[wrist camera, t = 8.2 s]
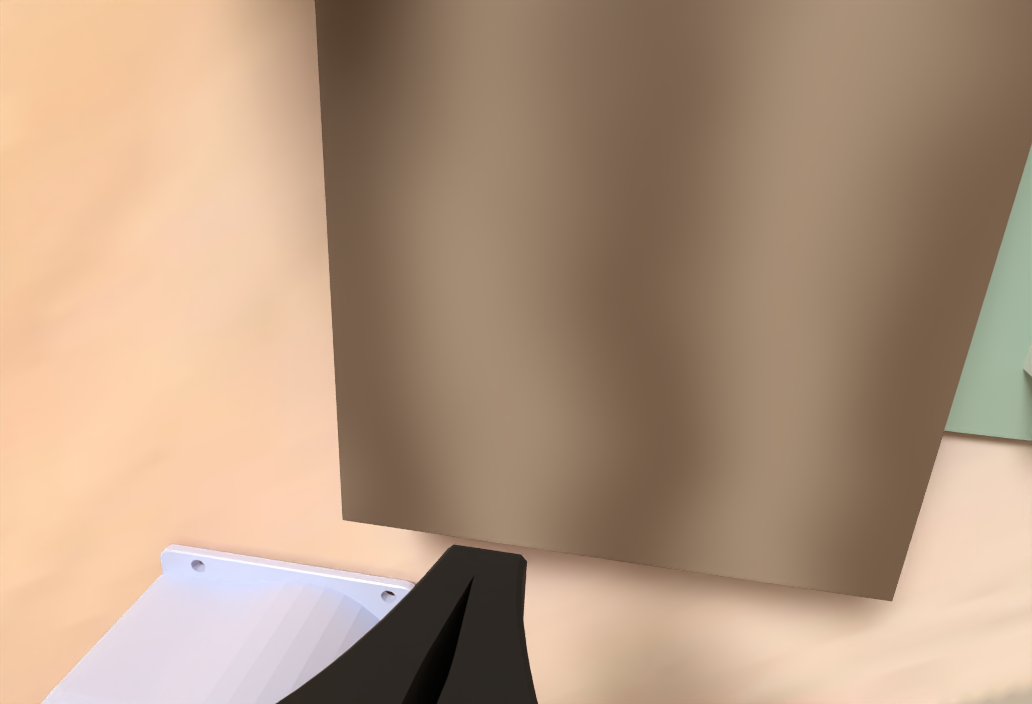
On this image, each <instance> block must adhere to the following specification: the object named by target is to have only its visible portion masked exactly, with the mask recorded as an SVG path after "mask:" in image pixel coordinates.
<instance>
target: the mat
mask: <svg viewBox="0 0 1032 704" xmlns="http://www.w3.org/2000/svg"><path fill="white" fill-rule="evenodd" d="M1031 343H1032V145H1031V148H1030V151H1029V155H1028V158H1027V161H1026V164H1025V168H1024V171H1023V174H1022V178H1021V181H1020V184H1019V187H1018V191H1017V194H1016V197H1015V200H1014V204H1013V207H1012V210H1011V214H1010V217H1009V220H1008V223H1007V227H1006V230H1005V233H1004V236H1003V240H1002V243H1001V246H1000V250H999V253H998V256H997V259H996V263H995V266H994V269H993V273H992V276H991V279H990V282H989V286H988V289H987V292H986V295H985V299H984V302H983V305H982V309H981V312H980V315H979V318H978V322H977V325H976V328H975V331H974V335H973V338H972V341H971V345H970V348H969V351H968V354H967V358H966V361H965V364H964V367H963V371H962V374H961V377H960V381H959V384H958V387H957V390H956V394H955V397H954V400H953V403H952V407H951V410H950V413H949V417H948V420H947V423H946V426H945V430H944V431H951V432H960V433H968V434H977V435H986V436H994V437H1003V438H1012V439H1020V440H1029V441H1032V376H1031V375H1030V374H1028V373H1027V372H1026V371H1025V370H1024V369H1023V367H1024V364H1025V361H1026V358H1027V355H1028V352H1029V349H1030V346H1031Z"/></svg>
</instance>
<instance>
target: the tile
mask: <svg viewBox="0 0 1032 704" xmlns="http://www.w3.org/2000/svg"><path fill="white" fill-rule="evenodd" d="M1023 369H1024V370H1025V371H1026V372H1027V373H1028V374H1030V375H1031V376H1032V343H1031V346H1030V349H1029V352H1028V355H1027V358H1026V361H1025V364H1024V367H1023Z"/></svg>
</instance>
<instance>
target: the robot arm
mask: <svg viewBox="0 0 1032 704" xmlns="http://www.w3.org/2000/svg"><path fill="white" fill-rule="evenodd" d="M160 560H161V566H162V572H163V573H162V574H161V575H160V576H159V577H158V579H157V580H156V581H155V582H154V583H153V584H152V585H151V586H150V587H149V588H148V589H147V590H146V591H145V592H144V593H143V594H142V596H141V597H140V598H139V599H138V600H137V601H136V602H135V603H134V604H133V605H132V606H131V607H130V608H129V609H128V610H127V611H126V612H125V614H124V615H123V616H122V617H121V618H120V619H119V620H118V621H117V622H116V623H115V624H114V625H113V626H112V627H111V628H110V629H109V631H108V632H107V633H106V634H105V635H104V636H103V637H102V638H101V639H100V640H99V641H98V642H97V643H96V644H95V645H94V646H93V648H92V649H91V650H90V651H89V652H88V653H87V654H86V655H85V656H84V657H83V658H82V659H81V660H80V661H79V662H78V663H77V665H76V666H75V667H74V668H73V669H72V670H71V671H70V672H69V673H68V674H67V675H66V676H65V677H64V678H63V679H62V680H61V682H60V683H59V684H58V685H57V686H56V687H55V688H54V689H53V690H52V691H51V692H50V694H49V695H48V696H47V697H46V698H45V700H44V701H43V702H42V703H41V704H538V702H537V698H536V694H535V689H534V685H533V680H532V675H531V670H530V665H529V659H528V653H527V646H526V638H525V630H524V622H523V615H524V599H525V583H526V568H527V561H526V560H525V559H524V557H523V556H522V555H520V554H513V553H506V552H500V551H493V550H486V549H480V548H473V547H466V546H460V545H453V546H451V547H450V548H448V549H447V550H446V551H445V553H444V554H443V555H442V556H441V557H440V559H439V560H438V561H437V562H436V563H435V564H434V565H433V567H432V568H431V569H430V570H429V571H428V572H427V573H426V574H425V576H424V577H423V578H422V579H421V580H420V581H419V582H418V583H417V584H416V585H414V584H413V583H411V582H408V581H405V580H398V579H392V578H386V577H379V576H373V575H367V574H360V573H354V572H348V571H341V570H335V569H329V568H322V567H316V566H310V565H304V564H297V563H291V562H285V561H278V560H272V559H266V558H259V557H253V556H247V555H240V554H234V553H228V552H221V551H215V550H209V549H202V548H196V547H190V546H183V545H177V544H171V545H169V546H168V547H167V548H166V549H165V550H164V551H163V552H162V553H161V555H160ZM199 561H201V562H202V563H203V564H202V563H200V562H199ZM386 591H391V592H393V593H394V594H395V595H390V594H388V593H387V592H386Z"/></svg>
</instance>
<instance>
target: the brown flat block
mask: <svg viewBox="0 0 1032 704" xmlns="http://www.w3.org/2000/svg"><path fill="white" fill-rule="evenodd" d="M315 8H316V27H317V46H318V65H319V84H320V102H321V121H322V140H323V159H324V178H325V196H326V215H327V234H328V253H329V272H330V290H331V309H332V328H333V347H334V366H335V384H336V403H337V422H338V441H339V459H340V478H341V497H342V516H343V520H346V521H353V522H360V523H367V524H373V525H380V526H387V527H394V528H400V529H407V530H414V531H421V532H427V533H434V534H441V535H448V536H454V537H461V538H468V539H475V540H481V541H488V542H495V543H502V544H509V545H515V546H522V547H529V548H536V549H542V550H549V551H556V552H563V553H569V554H576V555H583V556H590V557H596V558H603V559H610V560H617V561H623V562H630V563H637V564H644V565H650V566H657V567H664V568H671V569H677V570H684V571H691V572H698V573H704V574H711V575H718V576H725V577H731V578H738V579H745V580H752V581H759V582H765V583H772V584H779V585H786V586H792V587H799V588H806V589H813V590H819V591H826V592H833V593H840V594H846V595H853V596H860V597H867V598H873V599H880V600H887V601H892V600H893V597H894V593H895V590H896V587H897V584H898V580H899V577H900V574H901V570H902V567H903V564H904V561H905V557H906V554H907V551H908V548H909V544H910V541H911V538H912V534H913V531H914V528H915V525H916V521H917V518H918V515H919V512H920V508H921V505H922V502H923V498H924V495H925V492H926V489H927V485H928V482H929V479H930V476H931V472H932V469H933V466H934V462H935V459H936V456H937V453H938V449H939V446H940V443H941V440H942V436H943V433H944V430H945V426H946V423H947V420H948V417H949V413H950V410H951V407H952V403H953V400H954V397H955V394H956V390H957V387H958V384H959V381H960V377H961V374H962V371H963V367H964V364H965V361H966V358H967V354H968V351H969V348H970V345H971V341H972V338H973V335H974V331H975V328H976V325H977V322H978V318H979V315H980V312H981V309H982V305H983V302H984V299H985V295H986V292H987V289H988V286H989V282H990V279H991V276H992V273H993V269H994V266H995V263H996V259H997V256H998V253H999V250H1000V246H1001V243H1002V240H1003V236H1004V233H1005V230H1006V227H1007V223H1008V220H1009V217H1010V214H1011V210H1012V207H1013V204H1014V200H1015V197H1016V194H1017V191H1018V187H1019V184H1020V181H1021V178H1022V174H1023V171H1024V168H1025V164H1026V161H1027V158H1028V155H1029V151H1030V148H1031V145H1032V0H315Z"/></svg>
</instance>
